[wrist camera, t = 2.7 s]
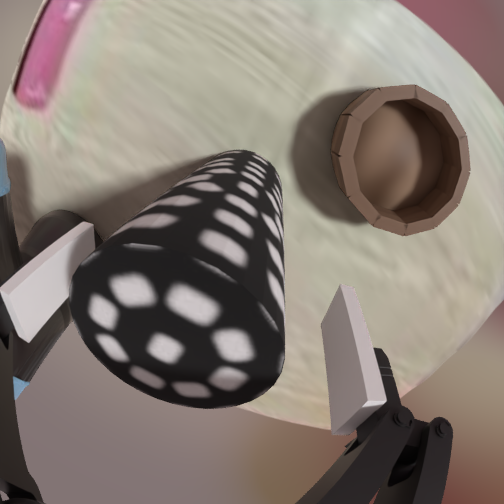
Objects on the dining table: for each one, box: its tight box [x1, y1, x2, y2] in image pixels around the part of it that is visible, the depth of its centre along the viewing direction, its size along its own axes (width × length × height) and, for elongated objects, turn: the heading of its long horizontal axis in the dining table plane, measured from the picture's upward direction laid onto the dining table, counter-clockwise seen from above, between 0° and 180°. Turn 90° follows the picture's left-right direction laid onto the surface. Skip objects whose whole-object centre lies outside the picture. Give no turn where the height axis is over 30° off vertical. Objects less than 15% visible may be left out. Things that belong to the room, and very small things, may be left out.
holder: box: [331, 85, 471, 236], centre depth 21 cm, size 13×13×4 cm
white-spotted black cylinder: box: [69, 150, 285, 409], centre depth 18 cm, size 8×8×20 cm
